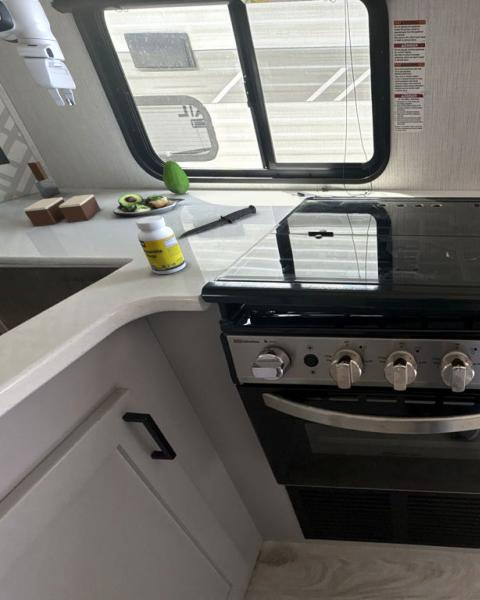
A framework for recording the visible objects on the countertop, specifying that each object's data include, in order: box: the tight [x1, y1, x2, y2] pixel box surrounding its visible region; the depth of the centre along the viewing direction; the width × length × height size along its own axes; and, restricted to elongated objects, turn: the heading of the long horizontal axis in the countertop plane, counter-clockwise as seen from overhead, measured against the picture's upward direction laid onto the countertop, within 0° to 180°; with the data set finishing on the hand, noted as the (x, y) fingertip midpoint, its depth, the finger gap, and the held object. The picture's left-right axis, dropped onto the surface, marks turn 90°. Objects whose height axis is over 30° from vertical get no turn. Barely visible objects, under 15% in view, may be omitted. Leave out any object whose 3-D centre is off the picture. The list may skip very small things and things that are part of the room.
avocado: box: [162, 160, 190, 196], centre depth 123 cm, size 8×8×12 cm
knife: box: [179, 204, 257, 239], centre depth 95 cm, size 24×5×3 cm, turn 143°
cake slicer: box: [26, 160, 61, 199], centre depth 123 cm, size 10×2×12 cm, turn 23°
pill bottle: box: [135, 215, 187, 275], centre depth 69 cm, size 6×6×11 cm
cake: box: [22, 193, 101, 227], centre depth 102 cm, size 12×13×5 cm
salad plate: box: [113, 192, 186, 219], centre depth 109 cm, size 19×18×5 cm
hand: (67, 105), depth 107 cm, fingers open, 8 cm apart
